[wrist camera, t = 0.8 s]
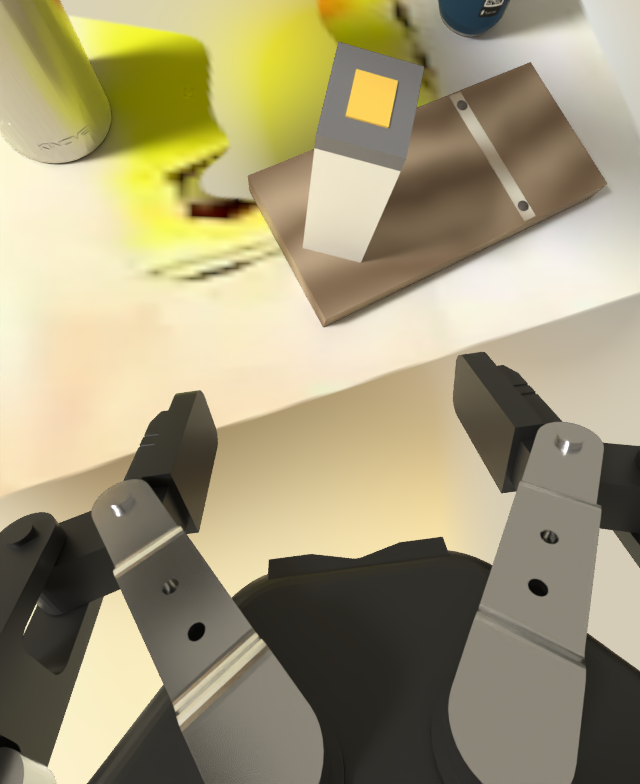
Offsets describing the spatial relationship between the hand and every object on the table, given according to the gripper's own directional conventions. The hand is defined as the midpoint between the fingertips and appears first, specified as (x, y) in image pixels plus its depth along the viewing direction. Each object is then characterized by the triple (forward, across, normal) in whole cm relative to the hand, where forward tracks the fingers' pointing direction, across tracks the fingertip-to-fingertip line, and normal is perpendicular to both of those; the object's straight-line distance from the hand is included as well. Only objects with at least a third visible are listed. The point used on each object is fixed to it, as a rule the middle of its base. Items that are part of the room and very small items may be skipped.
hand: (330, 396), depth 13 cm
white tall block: (+25, -3, 0) cm, 25 cm away
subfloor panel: (+30, -12, 0) cm, 32 cm away
